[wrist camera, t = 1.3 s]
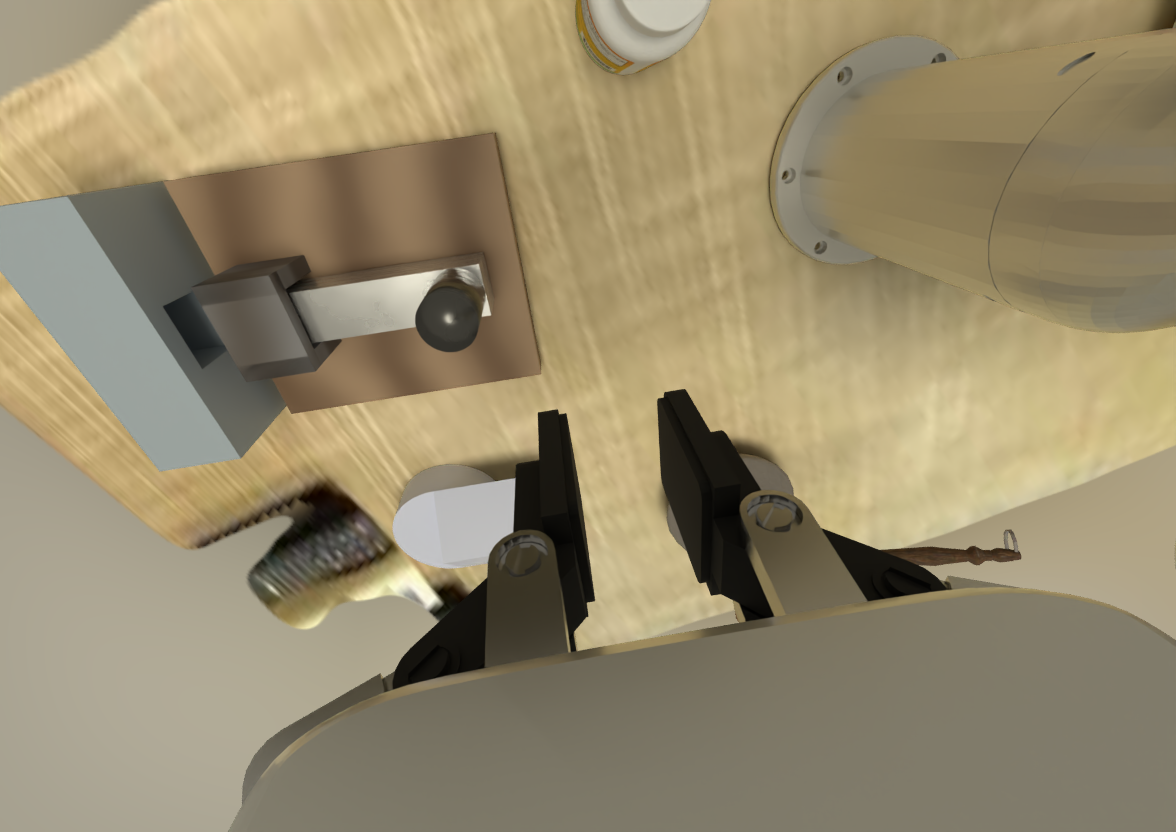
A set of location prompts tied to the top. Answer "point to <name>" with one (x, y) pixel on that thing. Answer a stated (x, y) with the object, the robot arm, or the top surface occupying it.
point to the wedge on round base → (453, 516)
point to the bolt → (399, 301)
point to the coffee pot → (778, 480)
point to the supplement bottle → (636, 30)
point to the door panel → (357, 265)
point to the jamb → (136, 319)
